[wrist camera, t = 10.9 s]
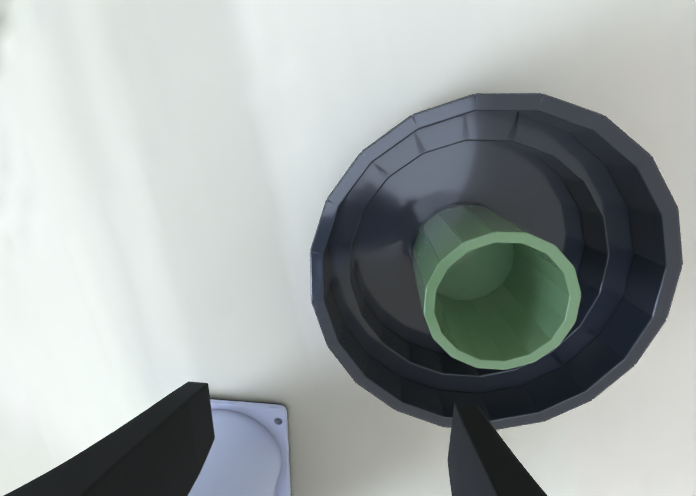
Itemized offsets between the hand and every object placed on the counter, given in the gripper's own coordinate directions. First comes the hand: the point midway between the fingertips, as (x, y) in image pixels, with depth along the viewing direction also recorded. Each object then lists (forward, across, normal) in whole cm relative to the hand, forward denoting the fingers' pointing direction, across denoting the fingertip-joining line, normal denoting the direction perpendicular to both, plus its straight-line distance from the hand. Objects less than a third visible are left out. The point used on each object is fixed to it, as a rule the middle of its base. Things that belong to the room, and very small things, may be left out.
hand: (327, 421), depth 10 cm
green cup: (+10, -6, -2) cm, 12 cm away
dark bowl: (+10, -6, -2) cm, 12 cm away
